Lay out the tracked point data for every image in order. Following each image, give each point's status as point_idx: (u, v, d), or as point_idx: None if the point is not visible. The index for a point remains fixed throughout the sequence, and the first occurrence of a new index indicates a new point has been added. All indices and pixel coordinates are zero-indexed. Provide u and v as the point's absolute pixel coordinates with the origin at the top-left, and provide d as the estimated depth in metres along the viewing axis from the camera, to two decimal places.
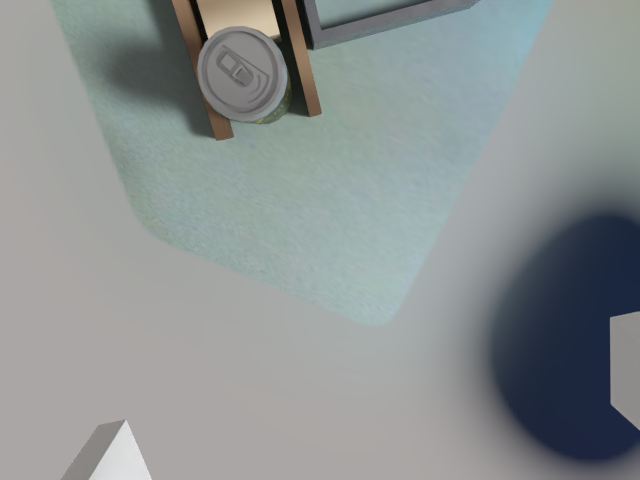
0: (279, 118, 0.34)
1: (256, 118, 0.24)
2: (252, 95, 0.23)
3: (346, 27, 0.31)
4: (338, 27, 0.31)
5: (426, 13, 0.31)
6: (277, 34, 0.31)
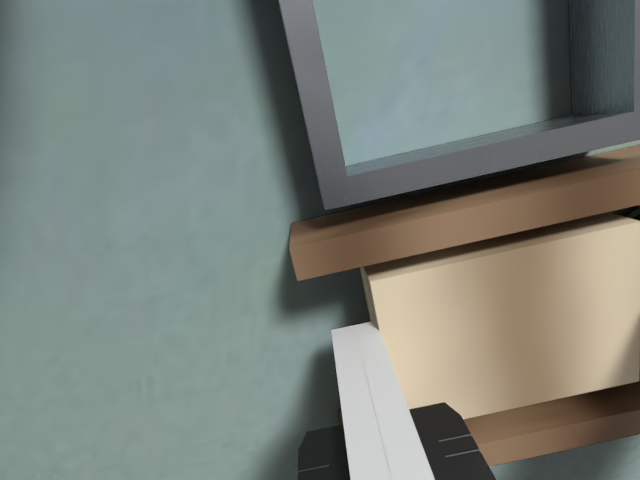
0: None
1: None
2: None
3: None
4: (638, 57, 0.10)
5: None
6: (637, 226, 0.11)
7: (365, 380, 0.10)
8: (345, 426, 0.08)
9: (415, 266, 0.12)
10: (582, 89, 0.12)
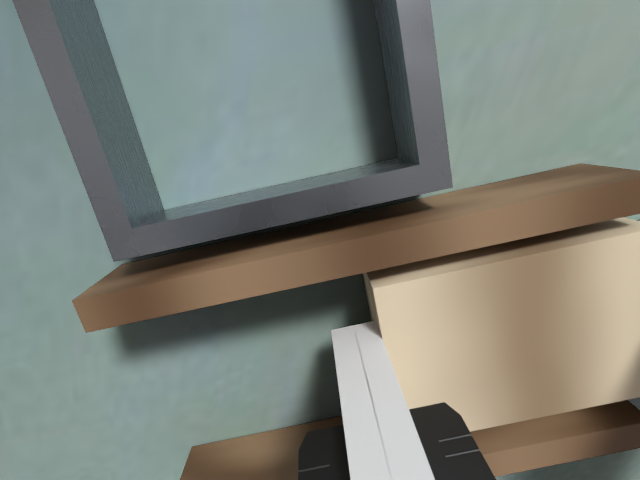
0: None
1: None
2: None
3: (418, 85, 0.10)
4: (416, 111, 0.10)
5: None
6: None
7: (365, 380, 0.10)
8: (345, 426, 0.08)
9: (420, 273, 0.11)
10: (398, 134, 0.12)
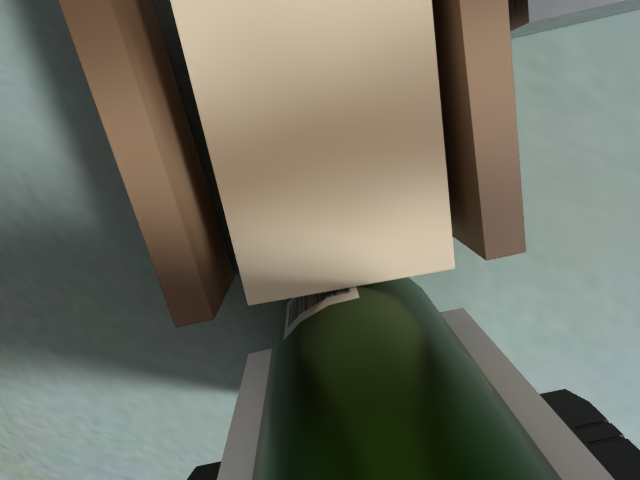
0: None
1: None
2: None
3: None
4: None
5: None
6: (446, 267, 0.10)
7: None
8: (222, 464, 0.08)
9: None
10: None
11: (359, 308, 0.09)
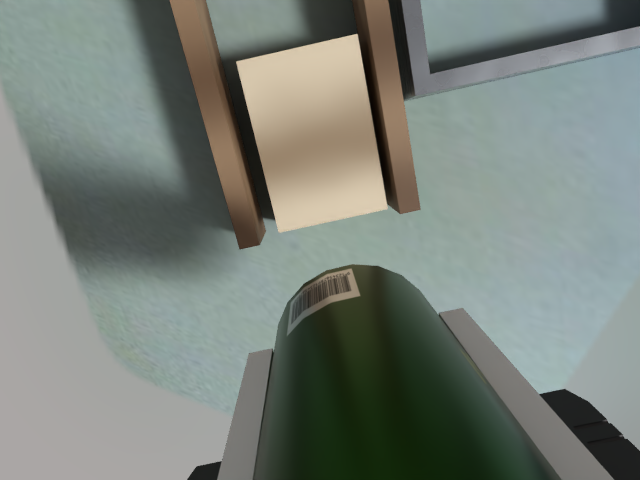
0: None
1: None
2: None
3: (473, 70, 0.18)
4: (459, 69, 0.18)
5: (610, 51, 0.18)
6: (383, 209, 0.19)
7: (477, 366, 0.09)
8: (222, 464, 0.08)
9: (362, 69, 0.18)
10: None
11: (360, 306, 0.09)
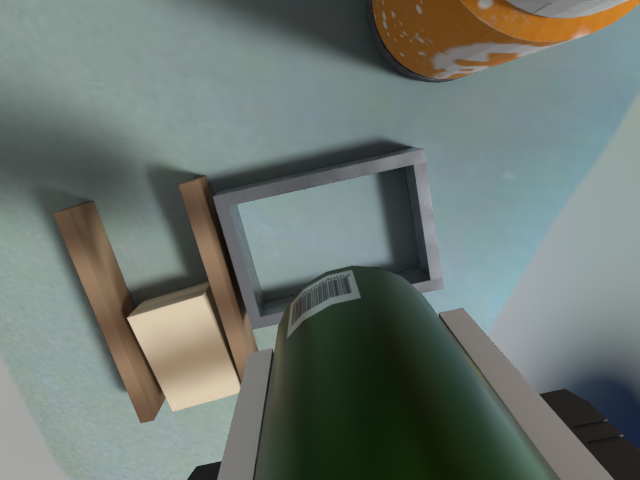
0: None
1: None
2: None
3: None
4: (279, 314, 0.27)
5: None
6: None
7: (477, 367, 0.09)
8: (222, 464, 0.08)
9: (212, 311, 0.27)
10: (273, 302, 0.29)
11: (360, 307, 0.09)
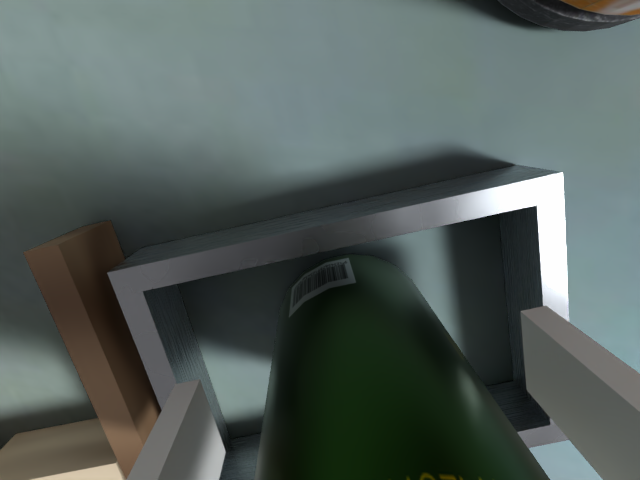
0: None
1: None
2: None
3: None
4: None
5: None
6: None
7: (588, 369, 0.08)
8: None
9: None
10: (246, 445, 0.16)
11: (356, 291, 0.10)
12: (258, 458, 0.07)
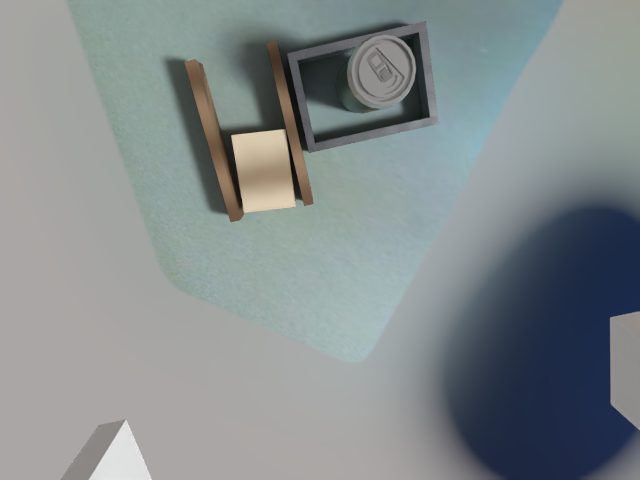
0: None
1: (383, 107, 0.31)
2: (387, 89, 0.30)
3: (334, 141, 0.40)
4: (328, 141, 0.40)
5: (395, 132, 0.40)
6: (293, 206, 0.42)
7: None
8: None
9: (287, 143, 0.40)
10: (321, 141, 0.42)
11: None
12: (343, 68, 0.33)
